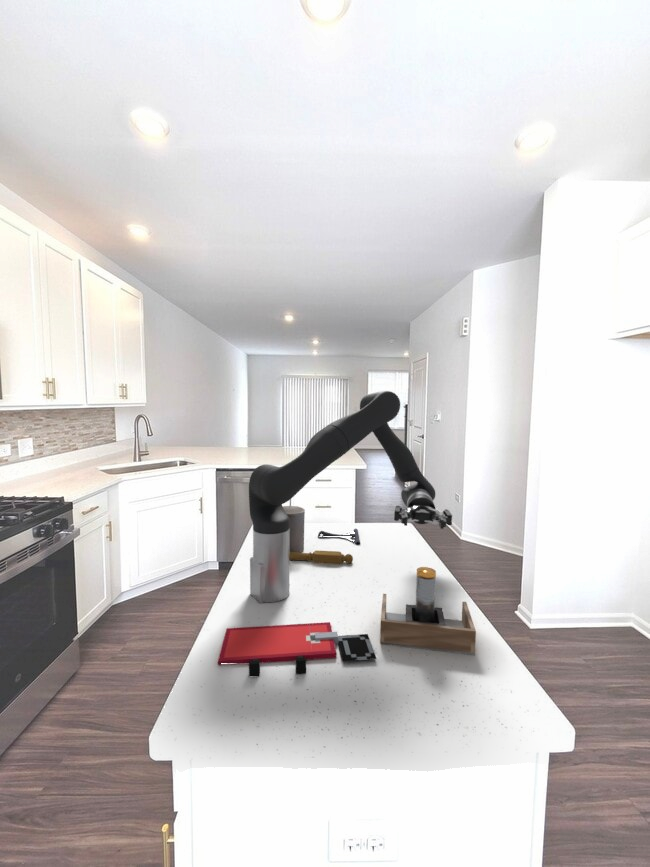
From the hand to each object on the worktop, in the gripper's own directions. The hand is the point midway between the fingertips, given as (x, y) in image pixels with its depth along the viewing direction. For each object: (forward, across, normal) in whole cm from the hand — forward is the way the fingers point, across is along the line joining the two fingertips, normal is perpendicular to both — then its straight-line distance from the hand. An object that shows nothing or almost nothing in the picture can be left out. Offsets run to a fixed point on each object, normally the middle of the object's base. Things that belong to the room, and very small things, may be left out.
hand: (423, 523), depth 96 cm
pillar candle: (-29, -41, +21) cm, 54 cm away
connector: (+10, 0, +20) cm, 23 cm away
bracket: (-44, -27, +21) cm, 56 cm away
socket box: (+10, 0, +21) cm, 23 cm away
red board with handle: (+22, -25, +22) cm, 40 cm away
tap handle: (-21, -34, +21) cm, 45 cm away
